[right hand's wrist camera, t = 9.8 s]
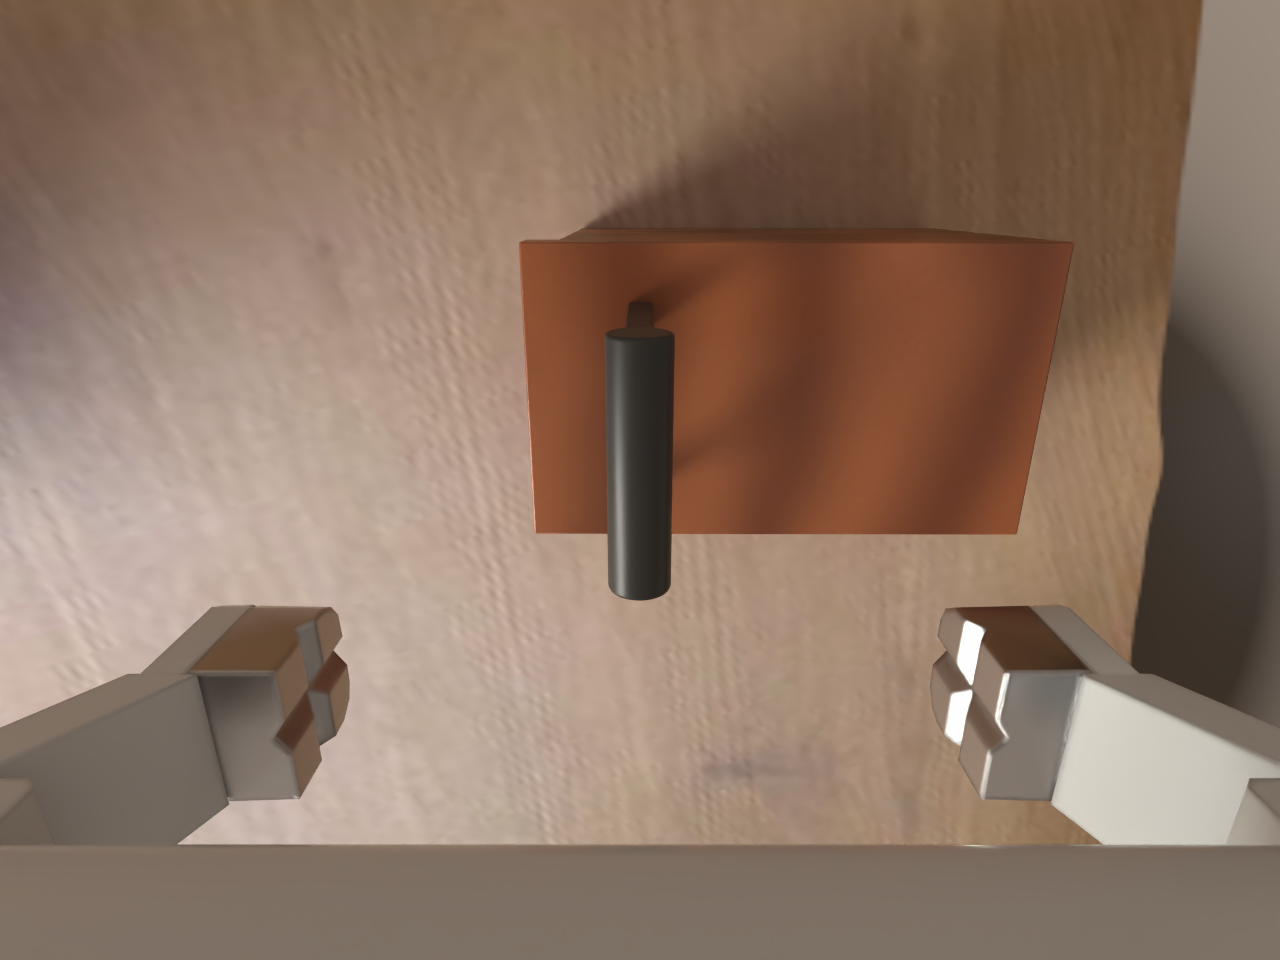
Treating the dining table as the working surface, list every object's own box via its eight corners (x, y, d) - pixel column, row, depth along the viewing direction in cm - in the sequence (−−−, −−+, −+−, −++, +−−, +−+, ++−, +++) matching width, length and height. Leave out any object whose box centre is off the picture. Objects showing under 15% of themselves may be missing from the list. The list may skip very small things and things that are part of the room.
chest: (586, 436, 34) (567, 518, 26) (581, 228, 31) (557, 239, 22) (907, 436, 34) (998, 518, 25) (935, 228, 31) (1051, 240, 22)
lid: (539, 518, 25) (494, 657, 18) (525, 239, 22) (462, 260, 15) (999, 519, 25) (1155, 658, 18) (1051, 239, 22) (1270, 261, 14)
